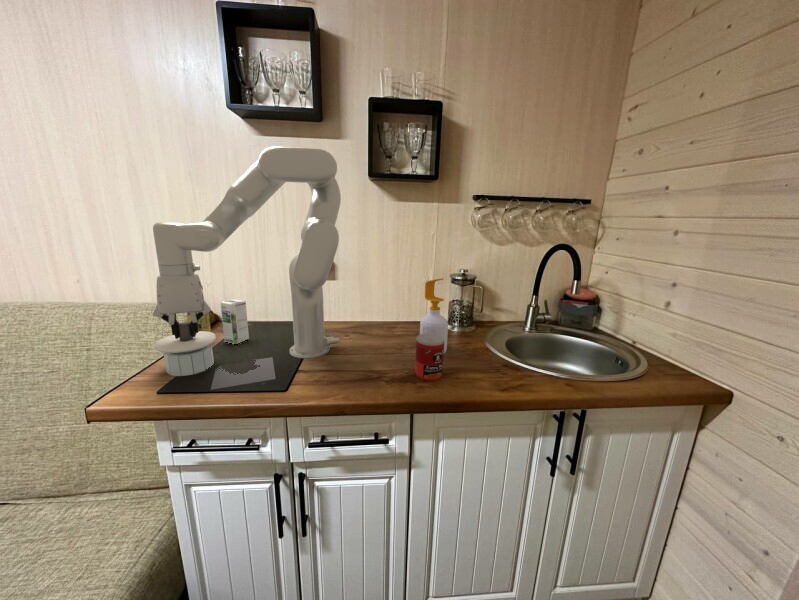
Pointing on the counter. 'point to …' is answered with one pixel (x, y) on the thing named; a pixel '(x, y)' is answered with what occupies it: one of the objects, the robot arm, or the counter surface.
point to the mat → (245, 375)
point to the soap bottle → (434, 315)
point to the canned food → (429, 356)
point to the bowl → (189, 361)
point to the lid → (185, 340)
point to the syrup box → (234, 321)
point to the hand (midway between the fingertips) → (186, 335)
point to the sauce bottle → (202, 321)
